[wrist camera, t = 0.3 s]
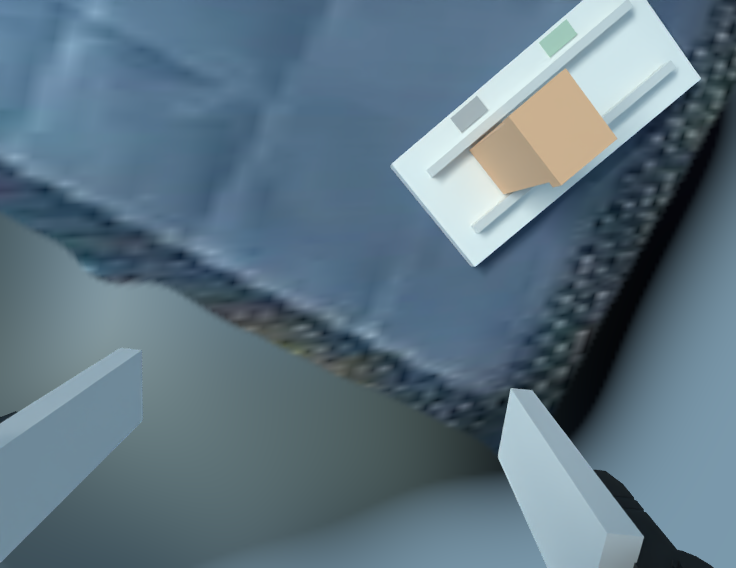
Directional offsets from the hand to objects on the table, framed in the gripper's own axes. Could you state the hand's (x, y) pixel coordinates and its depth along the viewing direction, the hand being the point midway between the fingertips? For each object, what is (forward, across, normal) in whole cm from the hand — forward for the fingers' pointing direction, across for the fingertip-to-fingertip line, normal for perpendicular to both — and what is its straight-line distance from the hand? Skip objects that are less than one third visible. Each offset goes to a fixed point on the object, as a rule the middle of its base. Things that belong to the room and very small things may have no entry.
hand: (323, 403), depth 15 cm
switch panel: (+29, +15, +15) cm, 36 cm away
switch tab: (+26, +12, +11) cm, 31 cm away
